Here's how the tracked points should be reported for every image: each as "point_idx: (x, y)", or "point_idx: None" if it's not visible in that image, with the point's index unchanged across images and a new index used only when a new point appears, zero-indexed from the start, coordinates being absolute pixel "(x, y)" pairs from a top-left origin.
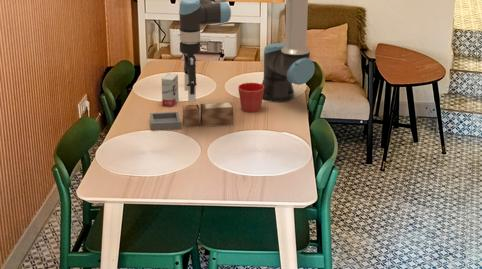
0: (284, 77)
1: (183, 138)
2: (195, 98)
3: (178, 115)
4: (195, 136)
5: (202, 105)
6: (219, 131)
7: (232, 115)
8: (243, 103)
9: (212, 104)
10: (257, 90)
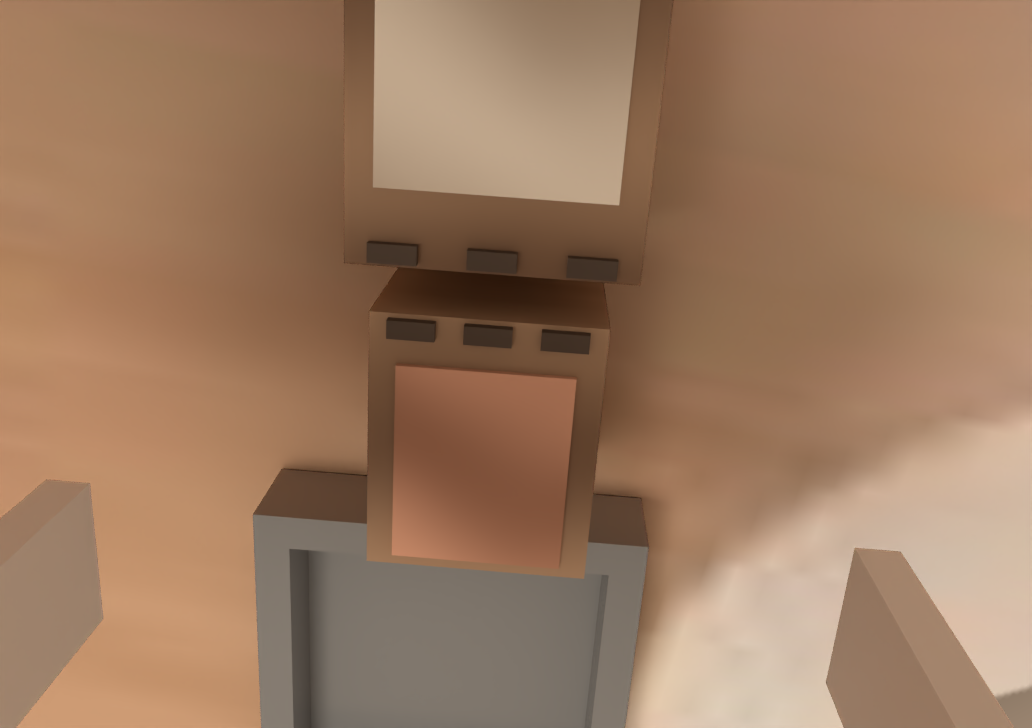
0: None
1: (954, 519)
2: (934, 606)
3: None
4: (946, 374)
5: (471, 251)
6: (890, 7)
7: None
8: None
9: (440, 34)
10: None
